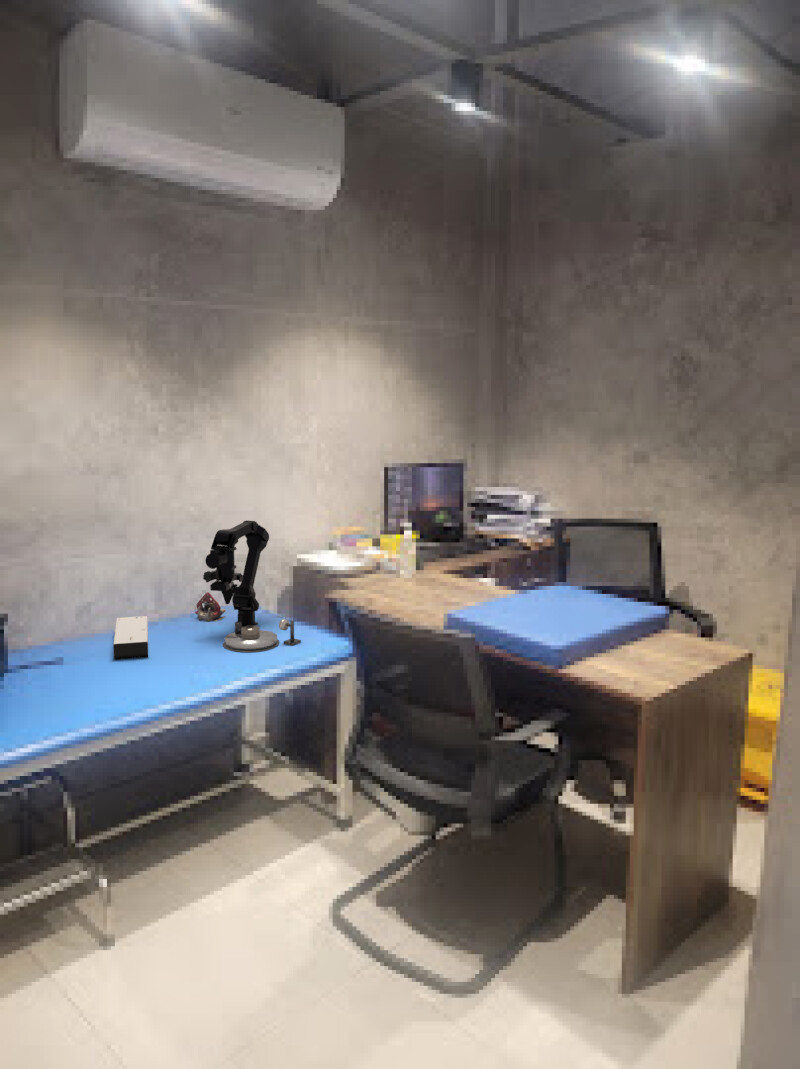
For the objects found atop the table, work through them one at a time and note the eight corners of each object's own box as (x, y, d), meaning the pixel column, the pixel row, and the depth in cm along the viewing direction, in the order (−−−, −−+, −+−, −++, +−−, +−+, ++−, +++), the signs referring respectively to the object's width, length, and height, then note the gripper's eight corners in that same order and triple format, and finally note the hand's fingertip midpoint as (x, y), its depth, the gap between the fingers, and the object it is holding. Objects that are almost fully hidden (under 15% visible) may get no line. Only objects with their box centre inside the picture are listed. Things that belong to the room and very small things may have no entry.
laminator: (148, 659, 283) (147, 641, 282) (110, 661, 279) (109, 644, 278) (147, 631, 315) (147, 615, 314) (114, 633, 311) (113, 617, 310)
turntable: (282, 635, 309) (282, 620, 308) (271, 651, 290) (271, 635, 289) (232, 634, 310) (232, 618, 309) (218, 649, 291) (218, 633, 290)
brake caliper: (186, 615, 328) (196, 588, 333) (199, 625, 337) (209, 599, 342) (211, 618, 324) (220, 591, 329) (223, 629, 333) (232, 602, 338)
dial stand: (290, 640, 306) (289, 616, 304) (300, 642, 303) (300, 619, 301) (279, 643, 301) (278, 620, 299) (290, 646, 298) (289, 622, 296)
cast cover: (261, 634, 303) (261, 625, 302) (257, 640, 296) (257, 630, 296) (243, 634, 303) (243, 624, 303) (239, 639, 297) (239, 629, 296)
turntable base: (250, 632, 314) (250, 631, 314) (290, 642, 303) (290, 641, 303) (211, 645, 297) (211, 644, 297) (251, 656, 286) (251, 655, 286)
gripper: (215, 557, 316) (216, 596, 319) (196, 567, 298) (197, 609, 301) (243, 559, 315) (243, 598, 317) (225, 569, 297) (226, 610, 299)
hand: (227, 604), depth 309 cm, fingers closed
